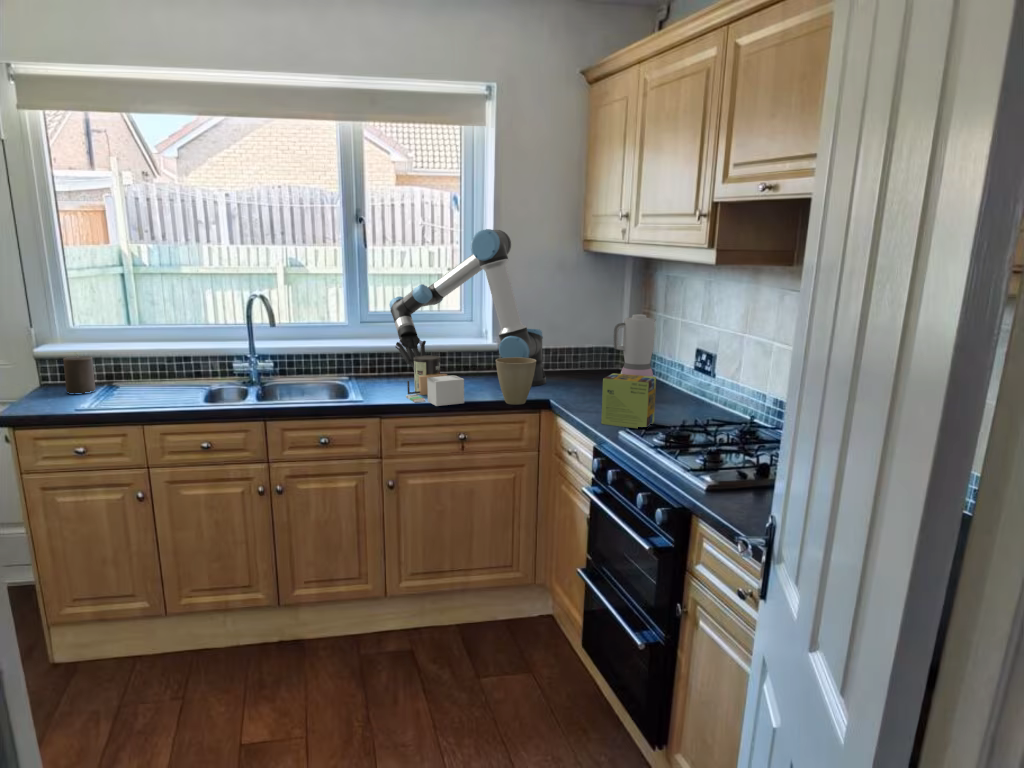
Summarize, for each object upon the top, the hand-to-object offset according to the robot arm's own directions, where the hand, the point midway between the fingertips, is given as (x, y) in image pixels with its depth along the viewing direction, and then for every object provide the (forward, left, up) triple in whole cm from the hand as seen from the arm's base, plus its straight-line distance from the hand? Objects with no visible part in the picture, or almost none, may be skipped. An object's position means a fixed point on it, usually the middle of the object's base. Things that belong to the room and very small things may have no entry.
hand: (420, 376), depth 277 cm
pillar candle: (+120, -54, -6) cm, 131 cm away
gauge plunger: (+2, +15, -5) cm, 16 cm away
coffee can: (0, +6, -6) cm, 8 cm away
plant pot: (-23, +36, -6) cm, 44 cm away
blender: (-65, +51, -6) cm, 83 cm away
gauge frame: (+2, +20, -6) cm, 21 cm away
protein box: (-42, +79, -6) cm, 90 cm away
